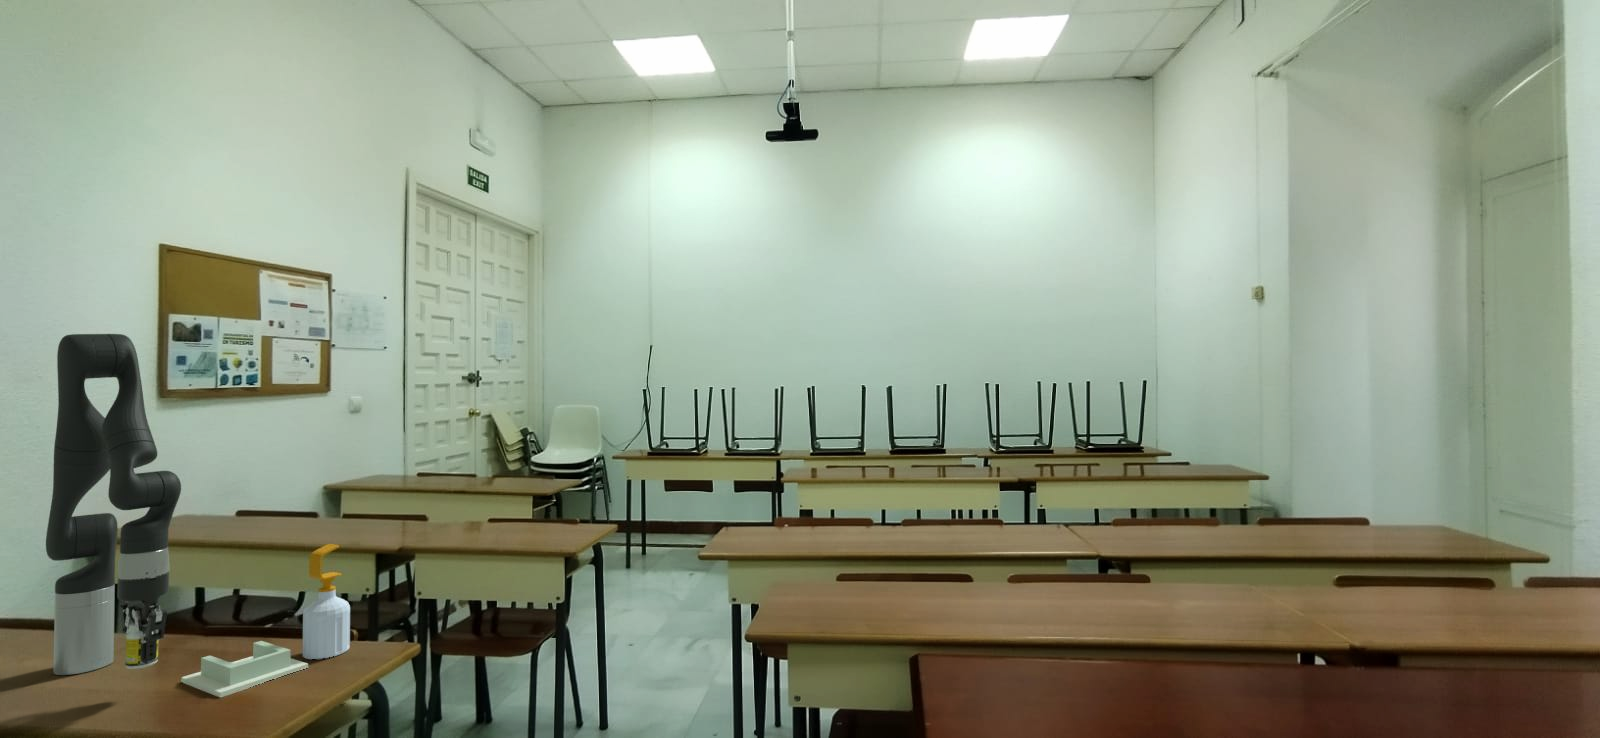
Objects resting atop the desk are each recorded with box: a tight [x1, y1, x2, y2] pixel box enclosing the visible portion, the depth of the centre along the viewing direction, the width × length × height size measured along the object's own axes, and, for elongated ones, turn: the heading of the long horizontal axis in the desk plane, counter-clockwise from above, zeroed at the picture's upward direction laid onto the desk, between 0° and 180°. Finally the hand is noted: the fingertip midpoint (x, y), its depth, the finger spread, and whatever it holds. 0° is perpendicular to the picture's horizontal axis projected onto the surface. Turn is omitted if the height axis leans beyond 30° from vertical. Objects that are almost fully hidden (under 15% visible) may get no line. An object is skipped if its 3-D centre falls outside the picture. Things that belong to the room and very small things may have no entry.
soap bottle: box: [302, 543, 351, 660], centre depth 161 cm, size 9×9×25 cm
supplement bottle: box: [124, 623, 159, 670], centre depth 139 cm, size 5×5×8 cm
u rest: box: [180, 640, 309, 698], centre depth 149 cm, size 16×16×4 cm
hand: (142, 657), depth 139 cm, fingers closed on supplement bottle, 4 cm apart
